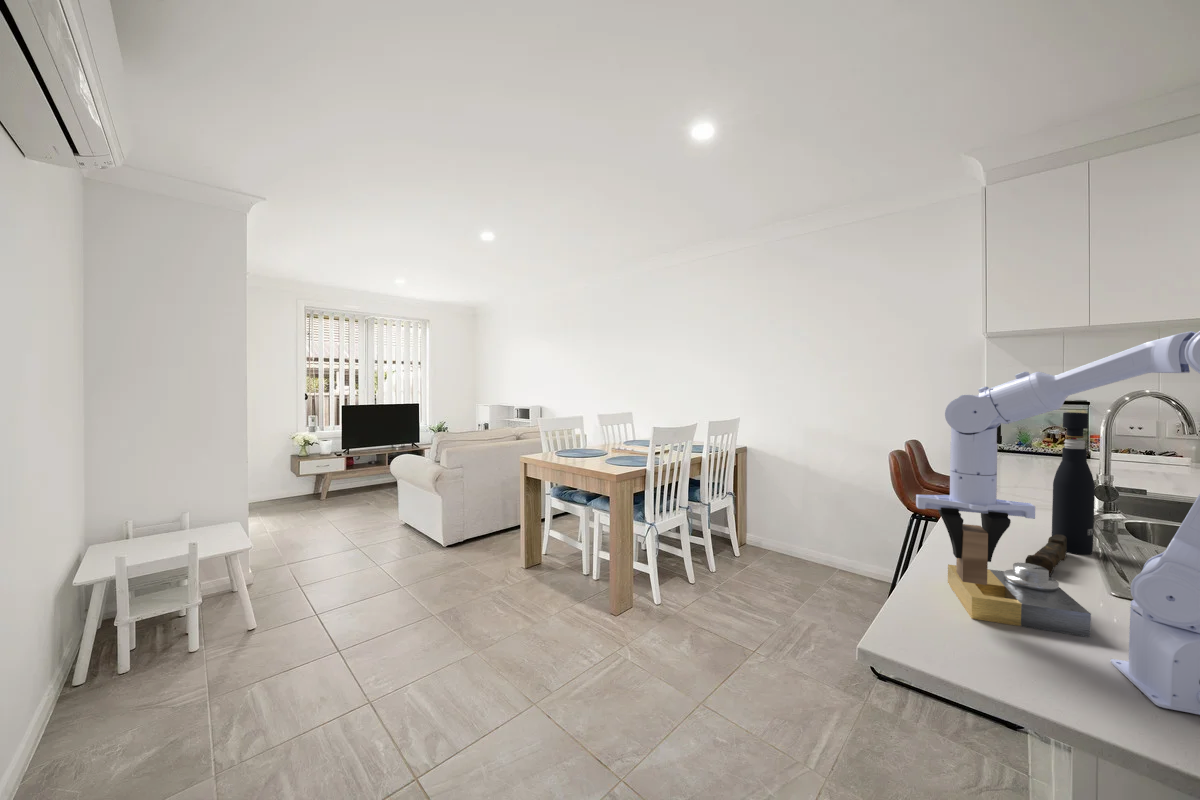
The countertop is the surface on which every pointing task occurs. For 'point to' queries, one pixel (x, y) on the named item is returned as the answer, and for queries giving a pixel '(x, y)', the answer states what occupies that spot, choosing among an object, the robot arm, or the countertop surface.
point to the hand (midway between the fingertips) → (971, 557)
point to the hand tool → (1050, 553)
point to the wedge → (973, 555)
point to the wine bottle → (1074, 489)
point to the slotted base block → (1022, 600)
